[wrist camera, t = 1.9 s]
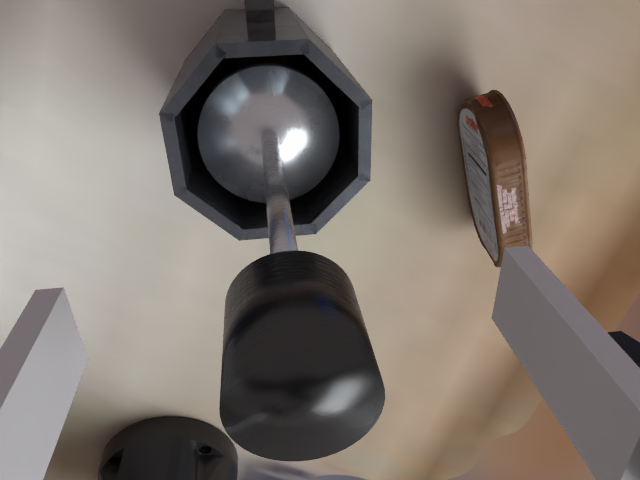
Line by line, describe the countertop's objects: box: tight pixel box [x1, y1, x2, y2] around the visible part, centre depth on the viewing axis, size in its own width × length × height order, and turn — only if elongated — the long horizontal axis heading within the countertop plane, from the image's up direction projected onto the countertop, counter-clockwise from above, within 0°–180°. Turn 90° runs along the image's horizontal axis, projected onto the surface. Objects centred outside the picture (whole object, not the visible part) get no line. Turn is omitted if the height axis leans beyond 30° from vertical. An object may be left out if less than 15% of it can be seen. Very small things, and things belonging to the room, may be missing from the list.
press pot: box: [159, 0, 372, 241], centre depth 33 cm, size 14×11×14 cm
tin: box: [458, 90, 532, 267], centre depth 42 cm, size 15×3×8 cm, turn 16°
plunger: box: [197, 63, 385, 461], centre depth 21 cm, size 8×8×20 cm
